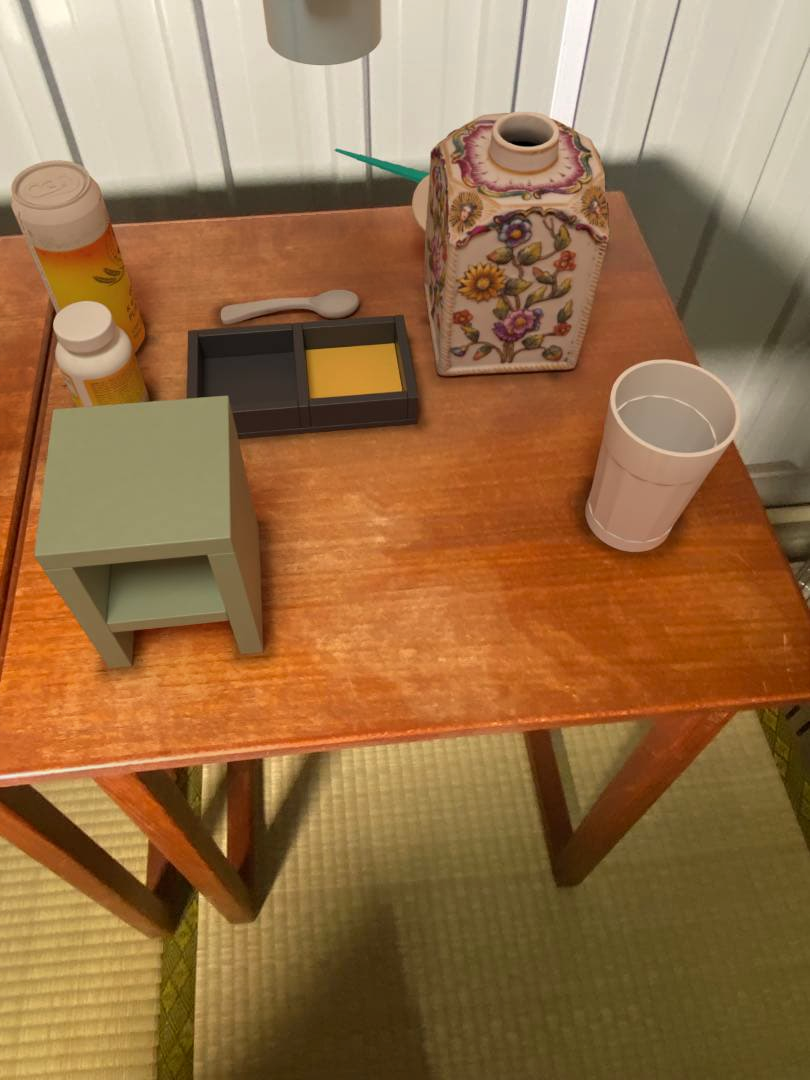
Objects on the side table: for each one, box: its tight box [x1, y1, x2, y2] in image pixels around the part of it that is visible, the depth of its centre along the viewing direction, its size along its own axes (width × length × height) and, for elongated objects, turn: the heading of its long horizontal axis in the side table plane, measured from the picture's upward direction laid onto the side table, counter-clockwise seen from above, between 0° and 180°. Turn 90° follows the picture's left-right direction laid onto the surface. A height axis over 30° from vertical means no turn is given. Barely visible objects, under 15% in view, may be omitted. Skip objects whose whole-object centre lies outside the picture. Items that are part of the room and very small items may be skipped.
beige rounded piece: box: [411, 174, 430, 233], centre depth 75 cm, size 5×5×10 cm
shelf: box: [33, 396, 264, 670], centre depth 52 cm, size 10×10×14 cm
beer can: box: [10, 159, 146, 354], centre depth 64 cm, size 6×6×15 cm
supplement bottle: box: [52, 301, 151, 408], centre depth 63 cm, size 5×5×10 cm
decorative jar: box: [423, 111, 611, 377], centre depth 65 cm, size 12×12×18 cm
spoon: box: [220, 289, 360, 326], centre depth 73 cm, size 3×12×2 cm, turn 96°
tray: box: [186, 314, 419, 440], centre depth 67 cm, size 17×9×3 cm, turn 97°
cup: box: [584, 358, 741, 553], centre depth 57 cm, size 8×8×12 cm
